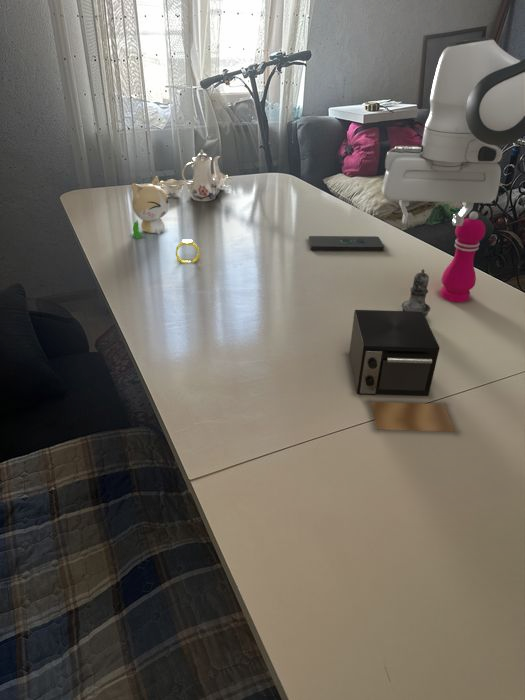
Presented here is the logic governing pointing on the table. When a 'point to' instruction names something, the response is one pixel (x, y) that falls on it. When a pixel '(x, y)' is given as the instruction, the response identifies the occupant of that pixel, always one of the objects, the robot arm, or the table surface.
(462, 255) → the pepper mill
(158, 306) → the table surface
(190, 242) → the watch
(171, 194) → the chinaware
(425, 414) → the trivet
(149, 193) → the kitten
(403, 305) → the gray stone statue
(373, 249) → the smart home device
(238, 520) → the table surface
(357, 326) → the oven
